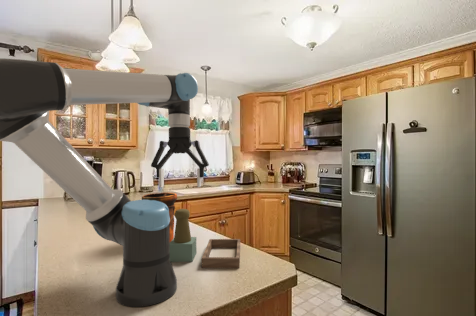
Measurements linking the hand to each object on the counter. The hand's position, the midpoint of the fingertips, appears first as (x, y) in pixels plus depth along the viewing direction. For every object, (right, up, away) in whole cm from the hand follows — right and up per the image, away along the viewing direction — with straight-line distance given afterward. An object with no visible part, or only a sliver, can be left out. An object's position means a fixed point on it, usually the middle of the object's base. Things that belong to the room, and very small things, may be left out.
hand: (180, 187), depth 96 cm
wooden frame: (+15, -24, 0) cm, 29 cm away
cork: (+1, -19, -1) cm, 19 cm away
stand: (+1, -25, -1) cm, 25 cm away
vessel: (-12, -25, +17) cm, 33 cm away
